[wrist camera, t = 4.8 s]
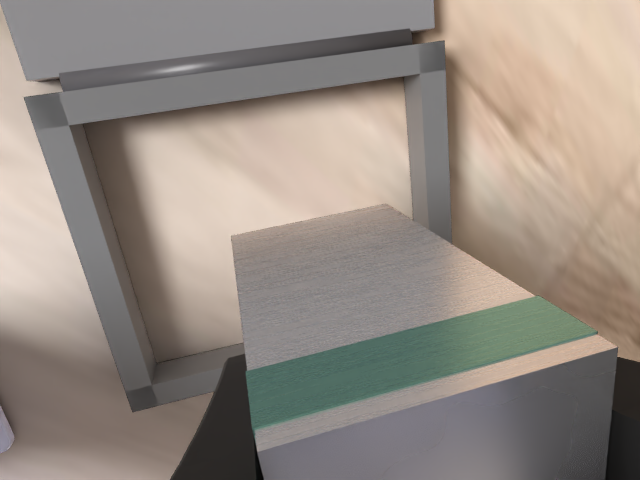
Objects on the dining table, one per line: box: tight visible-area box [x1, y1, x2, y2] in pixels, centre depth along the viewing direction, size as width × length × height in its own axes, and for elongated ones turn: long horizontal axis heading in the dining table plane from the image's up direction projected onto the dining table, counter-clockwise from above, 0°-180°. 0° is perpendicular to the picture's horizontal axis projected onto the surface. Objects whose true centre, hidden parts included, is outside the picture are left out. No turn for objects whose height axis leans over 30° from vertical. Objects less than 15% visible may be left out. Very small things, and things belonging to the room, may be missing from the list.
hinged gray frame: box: [0, 0, 452, 412], centre depth 15 cm, size 14×24×2 cm, turn 8°
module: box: [231, 204, 618, 480], centre depth 9 cm, size 4×6×7 cm, turn 9°
